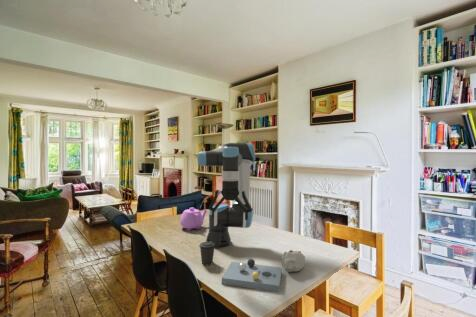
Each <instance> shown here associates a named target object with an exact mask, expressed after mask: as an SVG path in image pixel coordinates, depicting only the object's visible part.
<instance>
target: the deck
mask: <svg viewBox="0 0 476 317" xmlns="http://www.w3.org/2000/svg"><path fill="white" fill-rule="evenodd" d="M240 263H241V262H240V261H239V262H238V261H231V262H230V264H229V266H228V267H227V268H226V271H225V272H224V273H223V275H222V277H221V285H229V286H236V287H241V288H248V289H257V290H263V291H269V292H270V291H271V292H278V293H279V292H280V289H281V281H282V274H283V268H282V267H281V266H280V267H279V266H271V265H263V264H256V263H255V264H254V266H252V267H250V266H248V264H247V262H245V263H244V262H243V263H244V264H245V265H246V270H245V271H243V272H242V271H240V270H239V269H238V266H239V264H240ZM253 272H258V274H259V278H258V279H257V280H254V279H253V278H252V274H253Z"/></svg>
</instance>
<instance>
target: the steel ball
mask: <svg viewBox="0 0 476 317" xmlns="http://www.w3.org/2000/svg"><path fill="white" fill-rule="evenodd" d="M239 263H240V264H239V266H238V269H239V270H240V271H242V272H243V271H245V270H246V265H245V264H244V262H239Z"/></svg>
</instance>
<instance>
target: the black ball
mask: <svg viewBox="0 0 476 317" xmlns="http://www.w3.org/2000/svg"><path fill="white" fill-rule="evenodd" d="M246 263H247V264H248V266H250V267H252V266H254V264H256V261H255V259H253V258H249V259H247V262H246Z"/></svg>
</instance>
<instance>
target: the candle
mask: <svg viewBox="0 0 476 317" xmlns="http://www.w3.org/2000/svg"><path fill="white" fill-rule="evenodd" d="M281 263H282V265H283V267H284V269H285V271H286V272H287V273H293V272H298V271H301V270H302V269H303V268H304V267H305V266H306V257H305V255H304V254H303V253H302V251H297V250H289V251H284V252H283V255H282V257H281Z"/></svg>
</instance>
